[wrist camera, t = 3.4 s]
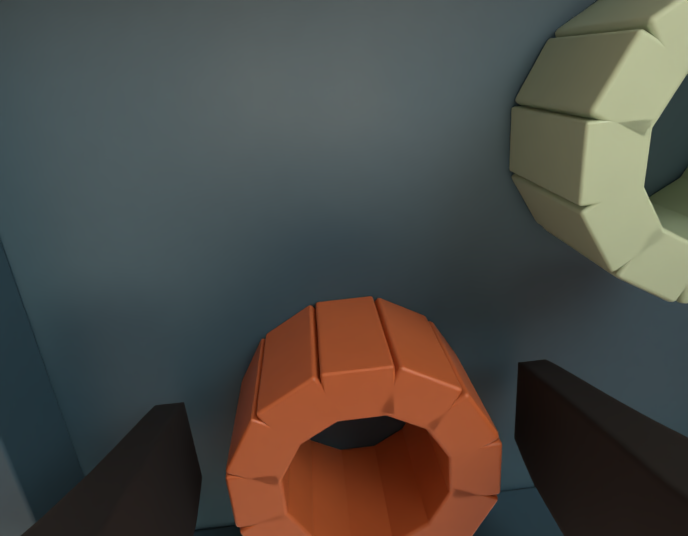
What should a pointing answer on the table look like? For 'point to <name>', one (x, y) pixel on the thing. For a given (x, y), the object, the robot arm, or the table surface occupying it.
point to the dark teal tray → (285, 223)
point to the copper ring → (356, 403)
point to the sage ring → (607, 140)
